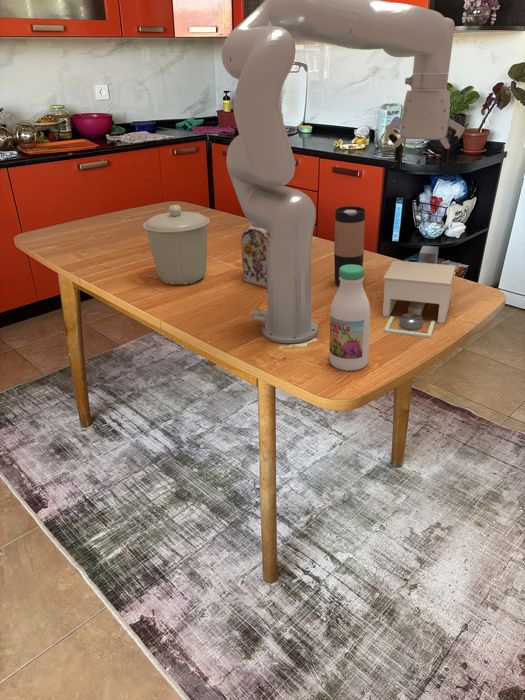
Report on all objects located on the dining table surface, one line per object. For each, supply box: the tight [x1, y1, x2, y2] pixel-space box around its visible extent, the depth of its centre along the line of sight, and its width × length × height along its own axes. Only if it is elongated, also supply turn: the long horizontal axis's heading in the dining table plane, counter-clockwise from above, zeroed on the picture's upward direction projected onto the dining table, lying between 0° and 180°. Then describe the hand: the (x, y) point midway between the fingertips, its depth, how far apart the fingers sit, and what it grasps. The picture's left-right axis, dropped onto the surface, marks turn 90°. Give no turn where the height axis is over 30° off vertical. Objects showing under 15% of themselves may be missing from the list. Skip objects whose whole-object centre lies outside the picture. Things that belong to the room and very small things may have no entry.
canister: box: [142, 204, 211, 285], centre depth 155 cm, size 18×18×21 cm
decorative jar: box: [240, 222, 271, 289], centre depth 152 cm, size 12×12×18 cm
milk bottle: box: [328, 264, 371, 372], centre depth 108 cm, size 8×8×20 cm
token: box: [398, 313, 424, 331], centre depth 126 cm, size 5×5×2 cm
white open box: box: [382, 260, 456, 324], centre depth 132 cm, size 15×13×10 cm
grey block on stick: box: [407, 245, 439, 316], centre depth 138 cm, size 4×22×10 cm, turn 158°
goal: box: [383, 315, 436, 339], centre depth 126 cm, size 10×8×1 cm
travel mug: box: [333, 205, 366, 288], centre depth 147 cm, size 8×8×20 cm
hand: (420, 165), depth 129 cm, fingers open, 9 cm apart
